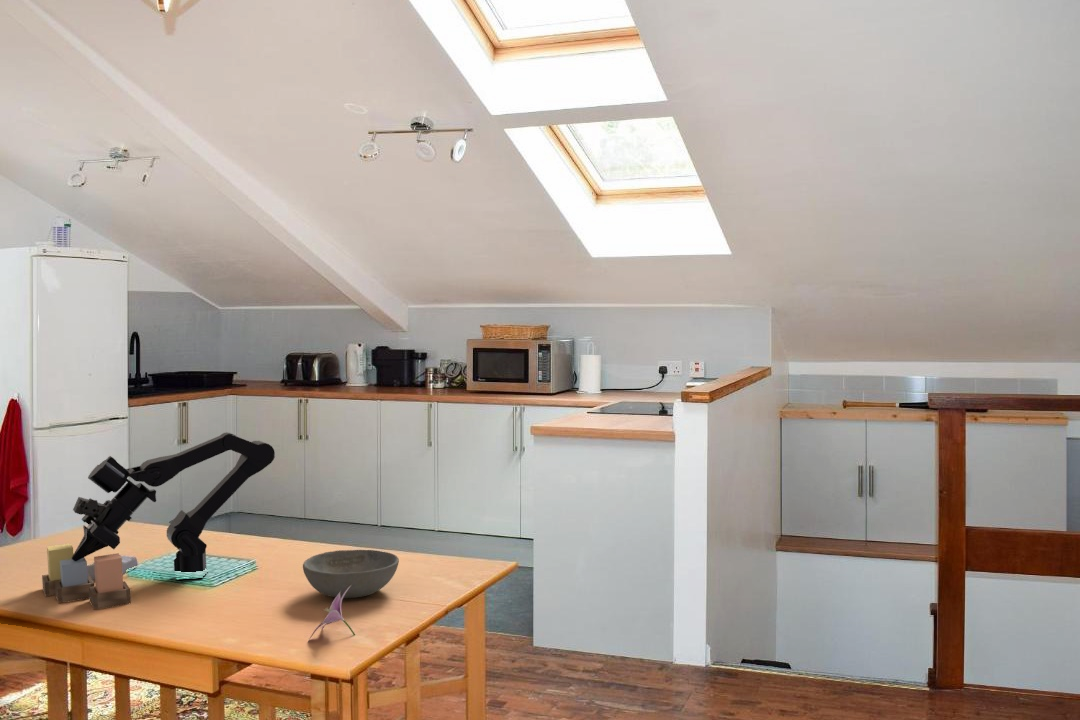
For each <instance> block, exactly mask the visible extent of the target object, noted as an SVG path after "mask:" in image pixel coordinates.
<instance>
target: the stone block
mask: <svg viewBox="0 0 1080 720" xmlns="http://www.w3.org/2000/svg"><path fill="white" fill-rule="evenodd" d="M119 555H120V556H121V558H122V571H123V575H125V573H126V570H127V569H129V568H132V567H134V566H137V567H138V562H139V561H138V559H137V557H136V556H130V555H125V554H123V555H122V554H119ZM126 574H127V573H126ZM87 575H88V576H91V578H92V580H93V581H95V567H94V562H92V563H91V564H87Z"/></svg>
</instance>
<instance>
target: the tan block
mask: <svg viewBox="0 0 1080 720" xmlns="http://www.w3.org/2000/svg"><path fill="white" fill-rule="evenodd" d="M120 555H121V554H119V552H118V553H112V554H111V553H109V554H104V555H97V556H93V563H94V567H95V580H94V584H95V586H96V591H97V593H104V592H110V591H116V590H122V589H123V581H124V576H123V571H122V558H121V556H120Z"/></svg>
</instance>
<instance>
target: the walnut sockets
mask: <svg viewBox="0 0 1080 720" xmlns="http://www.w3.org/2000/svg"><path fill="white" fill-rule="evenodd" d="M41 579H42V581H41V582H42V591H43V590H44V591H43V593H44V596H46V597H51V595H52V596H55V597H56V601H57V602H58V604H63V602H64V603H68V601H69V602H74V601H75V602H76V601H82V600H85V599H86V598H87V599H89V602H91V603H90V604H92V605H91V607H92V608H94V609H93V610H94V611H95V610H100V609H101V608H102V609H106V607H107V608H112V606H113V607H117V606H118V605H119V606H124V605H129V603H130V604H131V603H132V602H131V601H132V600H131V599H132V595H131V588H130V586H129V585H128V583H127V582H126V581H124V580H123V589H122V590H116V591H110V592H104V593H97V591H96V586H95V581H94V580H92V578H91V576H88V583H87V584H81V585H75V586H69V587H62V588H61V579H60V580H54V581H50V580H49V576H48V574H43V575H42V576H41ZM123 604H124V605H123ZM119 606H118V607H119Z"/></svg>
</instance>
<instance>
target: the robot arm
mask: <svg viewBox="0 0 1080 720" xmlns="http://www.w3.org/2000/svg"><path fill="white" fill-rule="evenodd" d="M228 451H232V452H235V453H238V454H240V455H239V458H238V460H237V462H236V464H235V466H234V467H233V468H232V469H231V470H230V471H229V472H228V473H227V474H226V475H225V476H224V477H223V478H222V479H221V480H220V482H218V484H217V485H216V486H215V487H213V489H212V490H210V492H209V493H208V494H207V495H206V496H205V497H204V498H203V499H202V500H201V501H200V502H199V503H198V504H197V505H196V506H195V507H194V508H193V509H191V510H190V511H188V512H185V511H184V510H183V509H182V510H180V511H179V512H178V513H177V515H176V516H175V518H173V519H172V520H170V521H169V522H168V523H169V525H168V527H167V528H166V538H167V540H168V541H169V542H170V543H171V544H172V545H173V547H175V548H176V549H177V550H178V551H177V552H175V558H174V560H173V566H174V567H173V571H181V572H196V571H203V570H205V568H206V569H207V551H206V549H207V546H208V545H207V544H206V542H204V541H203V540H202V539H201V538H200V536H201V534H202V532H203V531H204V528H205V526H206V525H207V522H208V521H209V520H210V519H211V518H212V516H214V515H215V513H217V512H218V511H219V510H220V508H221V507H222V506H224V504H225V503H226V502H227V501H228V500H229V499H230V498H231V497H232V496H233V495H234V494H235V492H237V491H238V490H239V488H240V487H241V486H242V485H244V483H246V481H247V480H248V479H249V478H251V477H252V476H255V475H256V474H257V473H259V472H261V471H263V470H264V469H265V468H267V467H268V466H270V465H271V464H272V463H273V461H274V459H275V458H276V456H275V455H276V454H275V449H274V448H273V446H272V445H271V444H269V443H267V442H264V441H262V440H253V441H250V440H246V439H244V438H242V437H239V436H237V435H236V434H233V433H232V432H229V431H228V432H227V431H226V432H223V433H222V434H220V435H218V436H215V437H213V438H211V439H208V440H206V441H204V442H202V443H199V444H197V445H194V446H191V447H190V448H187V449H185V450H182V451H180V452H178V453H174V454H170V455H164V456H163V455H162V456H159V457H156V458H150V459H148V460H146V461H143V462H142V463H141V464H140V465H137V466H135V467H134V466H133V467H130V468H125V467H124V466H122V465H121V464H120V463H119V462H118V461H117V459H115V458H114V457H112V455H109V456H108V457H107V458H106V459H104V460H103V461H102V462H100V464H97V465H96V466H95V467H94V468H93V469H92V470H91V471H90V473H89V475H88V477H87V479H88V480H90V481H91V482H92V483H94V485H96V486H97V487H99V488H100V489H102V490H103V492H105V493H106V494H110V493H111V492H112V493H116V494H115V496H114V497H112V499H111V500H110V499H106V500H105V501H104V502H103V503H101V502H98V500H97V499H92V498H91V497H90V498H89V499H87V498H85V497H80V496H78V497H77V499H76V502H75V504H74V506H73V508H72V511H73V512H74V513H75V514H77V515H83V516H82V518H81V521H82V522H83V523H86V524H87V526H86V525H85V524H84V525H82V528H83V536H82V538H81V541H80V542H79V543H78V545H77V548H76V549H75V551H74V552H73V556H72V560H74V561H78V560H80V559H82V558H85V557H87V556H89V555H91V554H93V553H96V552H98V551H100V550H102V549H104V548H107V547H110V548H111V549H113V550H115V549H116V548H117V547H118V546H119V545H120V544H121V537H120V535H118V534H119V532H120V531H119V530H120V528H121V527H122V526H123V525H124V524H125V523H126V522H127V521H128V522H130V521H131V520H132V515H133V514H135V512H136V511H137V510H138V509H139V507H141V506H142V505H143V503H144V502H145V501H146V500H147V499H149V500H150V501H152V502H153V503H156V502H157V496H156V495H157V490H156V489H149V488H148V487H147V486H145V485H144V484H143V483H145V484H146V485H148V486H150V487H153V488H155V487H157V488H158V487H161V486H162V485H164V484H166V483H167V482H169V481H171V480H172V479H174V477H176V476H178V474H179V473H181V472H182V471H184V470H185V469H189V468H190V467H193V466H195V465H198V464H200V463H203V462H204V461H207V460H209V459H211V458H214V457H216V456H218V455H221V454H223V453H225V452H228ZM129 478H130V479H132V480H133V481H135V482H139V483H137V484H135V483H133V482H132V481H131V480H129ZM141 482H142V483H141Z"/></svg>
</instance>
